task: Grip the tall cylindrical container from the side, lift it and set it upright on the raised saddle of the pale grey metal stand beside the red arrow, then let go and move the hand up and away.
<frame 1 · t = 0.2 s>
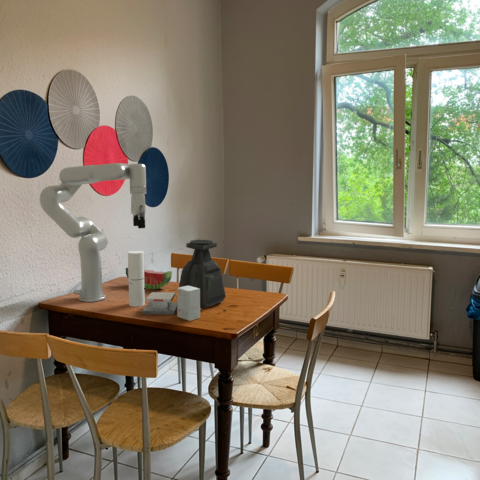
hand: (139, 227, 216), 36 cm above the table, tool pointing down, fingers open, 9 cm apart
cylindrical container: (136, 304, 215), on the table
bottle: (201, 304, 218), on the table
small box: (188, 317, 197), on the table
stand: (161, 309, 207), on the table
fruit slice: (148, 288, 245), on the table
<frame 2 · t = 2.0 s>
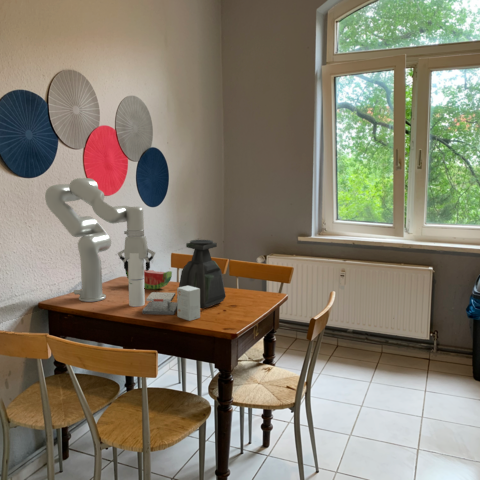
hand: (137, 270, 212), 16 cm above the table, tool pointing down, fingers open, 9 cm apart
nothing on the table moved.
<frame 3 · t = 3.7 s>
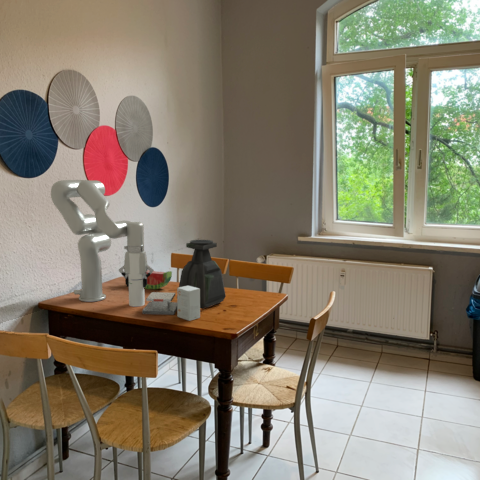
hand: (136, 286, 213), 9 cm above the table, tool pointing down, fingers closed on cylindrical container, 7 cm apart
cylindrical container: (136, 304, 215), on the table, touching gripper
everything else where it was.
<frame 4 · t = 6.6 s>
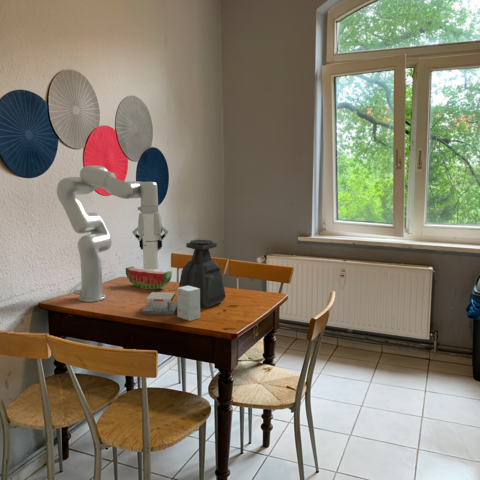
hand: (151, 248, 206), 27 cm above the table, tool pointing down, fingers closed on cylindrical container, 7 cm apart
cylindrical container: (151, 268, 207), point 18 cm above the table, touching gripper
everything else where it was.
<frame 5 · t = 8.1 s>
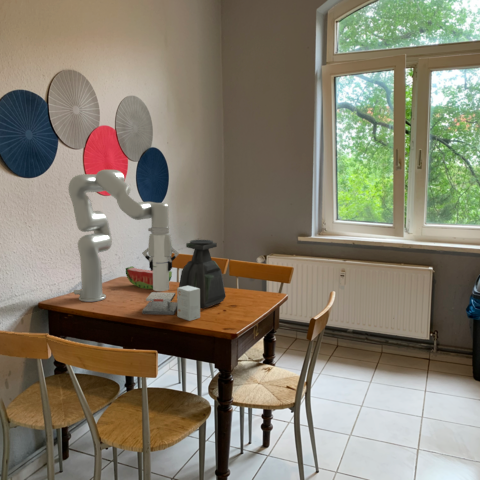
hand: (160, 270, 205), 18 cm above the table, tool pointing down, fingers closed on cylindrical container, 7 cm apart
cylindrical container: (161, 289, 206), point 9 cm above the table, touching gripper
everything else where it was.
when the fingers open (16 cm above the table, at t = 9.5 s): cylindrical container stays where it is, resting on stand.
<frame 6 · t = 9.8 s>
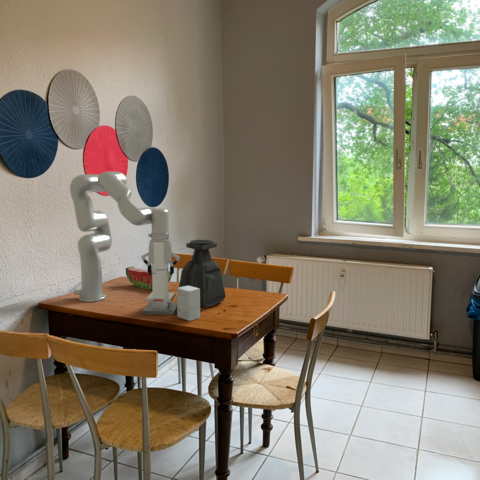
hand: (160, 274, 205), 16 cm above the table, tool pointing down, fingers open, 9 cm apart
cylindrical container: (160, 296, 206), point 6 cm above the table, touching stand
everything else where it was.
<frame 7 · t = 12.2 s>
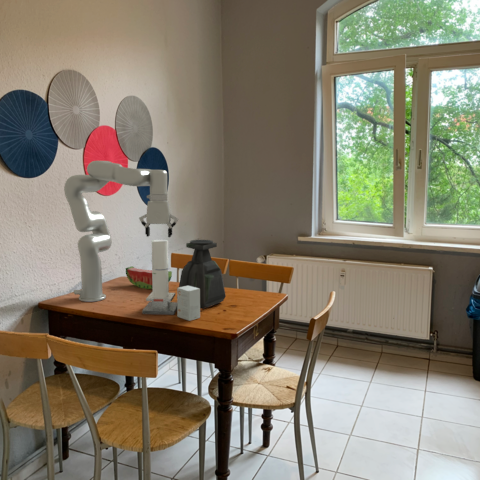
hand: (158, 236, 204), 33 cm above the table, tool pointing down, fingers open, 9 cm apart
nothing on the table moved.
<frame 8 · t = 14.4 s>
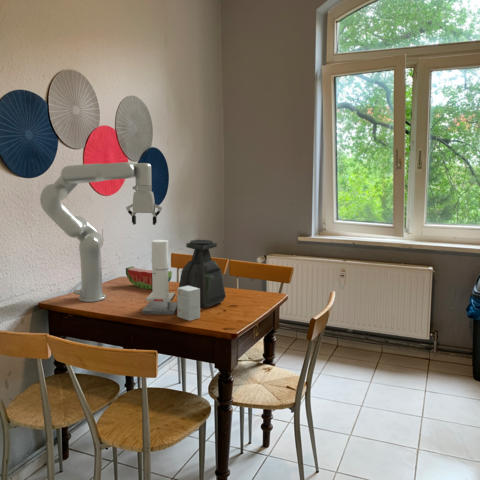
hand: (144, 224, 222), 36 cm above the table, tool pointing down, fingers open, 9 cm apart
nothing on the table moved.
at the end: cylindrical container inside the target area on the stand (0.2 cm from its centre), point 6.3 cm above the stand's base; cylindrical container tilted 0°; the gripper is holding nothing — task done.
